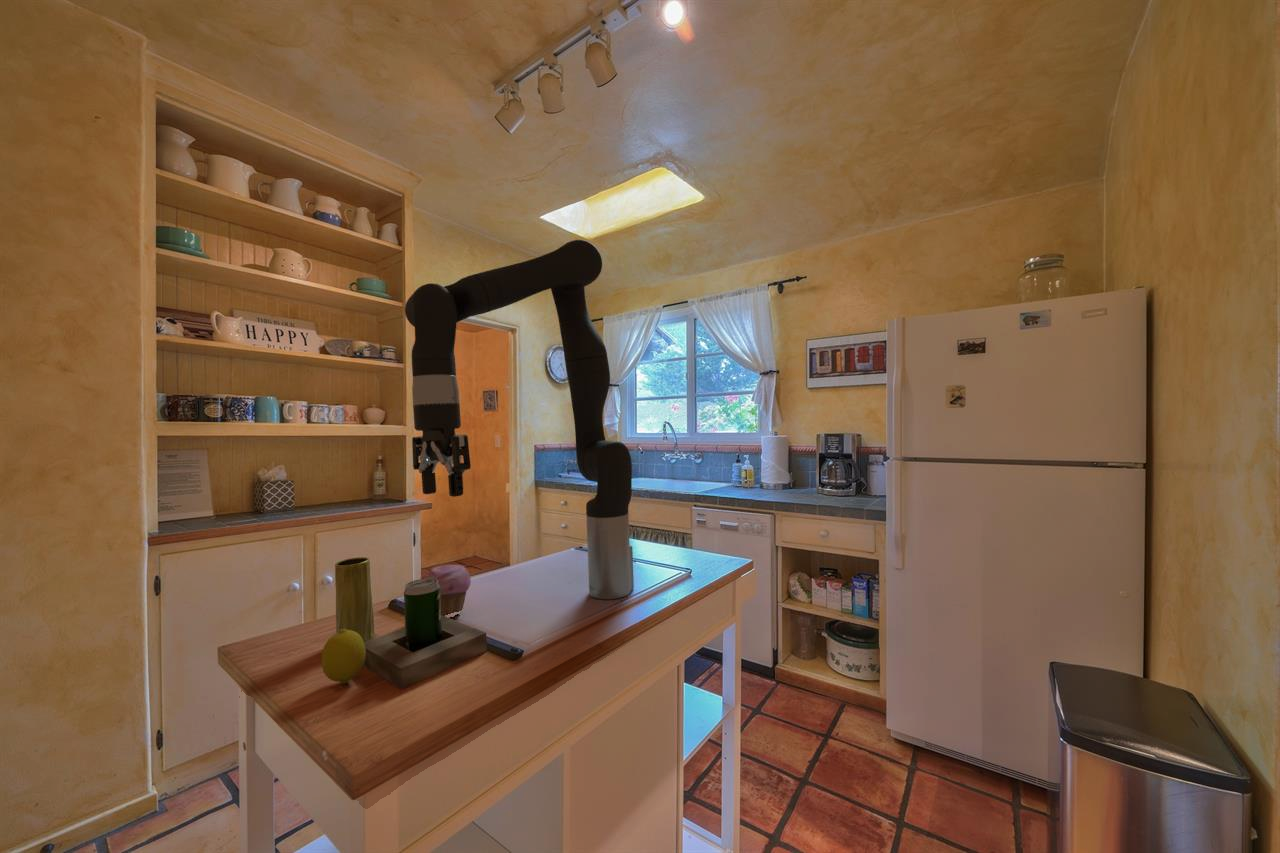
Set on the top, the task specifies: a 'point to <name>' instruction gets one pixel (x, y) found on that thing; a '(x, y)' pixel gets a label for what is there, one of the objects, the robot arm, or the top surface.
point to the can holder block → (422, 653)
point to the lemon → (343, 655)
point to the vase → (354, 597)
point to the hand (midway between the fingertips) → (442, 494)
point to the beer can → (422, 614)
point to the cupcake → (451, 586)
